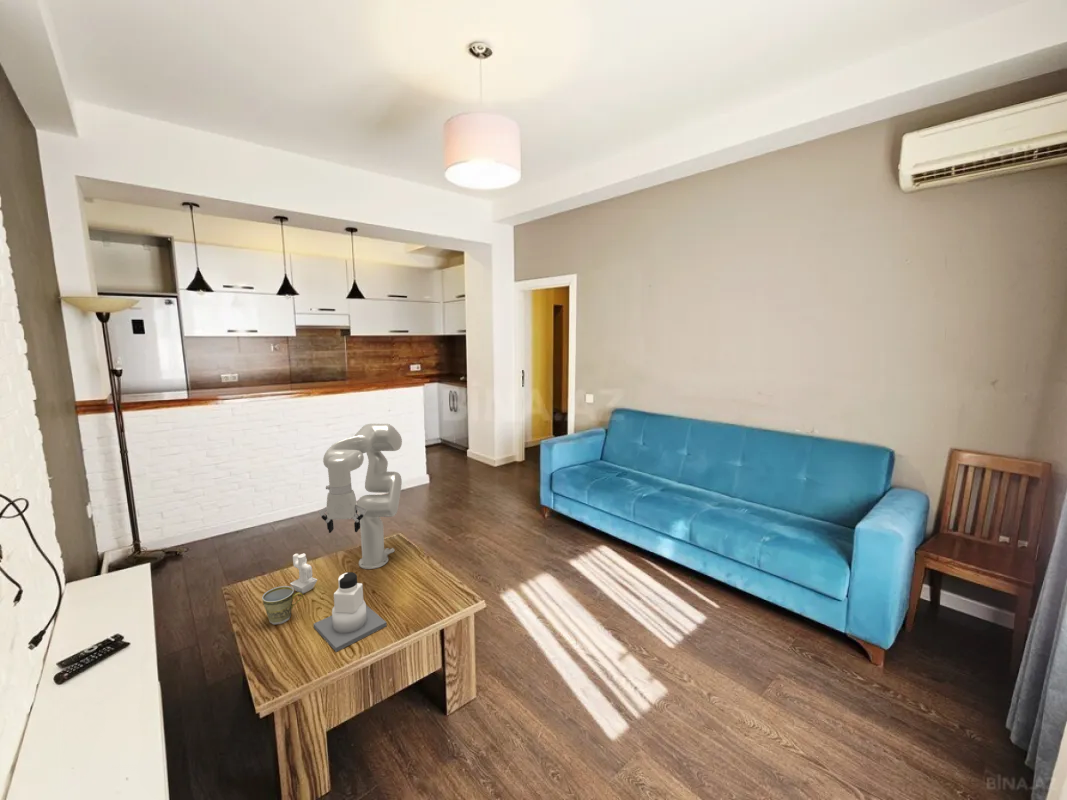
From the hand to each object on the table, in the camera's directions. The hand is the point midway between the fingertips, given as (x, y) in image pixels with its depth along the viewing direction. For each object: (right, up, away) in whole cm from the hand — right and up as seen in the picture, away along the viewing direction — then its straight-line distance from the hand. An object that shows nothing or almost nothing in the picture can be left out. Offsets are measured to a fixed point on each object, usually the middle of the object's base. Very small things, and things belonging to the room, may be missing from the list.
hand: (344, 530), depth 172 cm
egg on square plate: (+7, -31, -12) cm, 34 cm away
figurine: (-21, -27, +11) cm, 36 cm away
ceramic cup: (-18, -30, -7) cm, 36 cm away
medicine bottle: (+7, -23, -13) cm, 28 cm away
